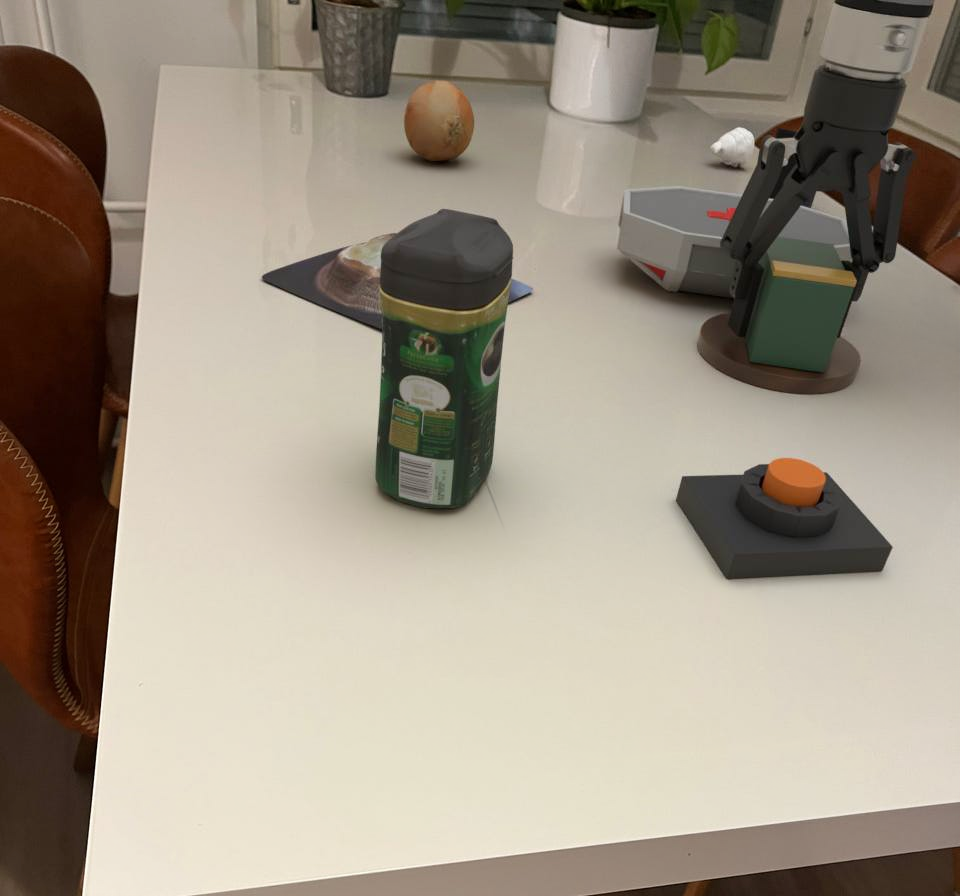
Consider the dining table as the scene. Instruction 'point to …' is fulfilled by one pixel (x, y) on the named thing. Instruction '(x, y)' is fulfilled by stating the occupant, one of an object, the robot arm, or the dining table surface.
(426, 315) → the coffee jar
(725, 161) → the garlic bulb
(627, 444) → the dining table surface
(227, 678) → the dining table surface
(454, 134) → the onion
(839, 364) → the turntable base
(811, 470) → the button
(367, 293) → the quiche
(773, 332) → the box
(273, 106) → the dining table surface
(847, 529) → the button block
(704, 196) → the first aid kit
